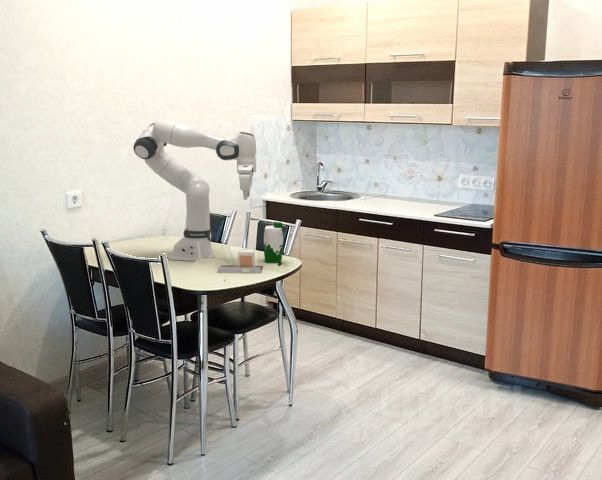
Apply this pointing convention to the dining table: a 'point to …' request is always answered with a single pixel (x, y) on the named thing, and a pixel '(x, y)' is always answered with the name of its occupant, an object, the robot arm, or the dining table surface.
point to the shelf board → (237, 266)
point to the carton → (246, 258)
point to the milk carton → (273, 243)
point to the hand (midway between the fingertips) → (246, 198)
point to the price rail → (238, 269)
